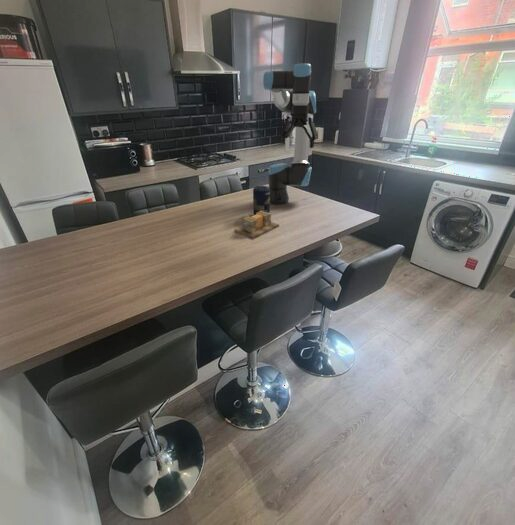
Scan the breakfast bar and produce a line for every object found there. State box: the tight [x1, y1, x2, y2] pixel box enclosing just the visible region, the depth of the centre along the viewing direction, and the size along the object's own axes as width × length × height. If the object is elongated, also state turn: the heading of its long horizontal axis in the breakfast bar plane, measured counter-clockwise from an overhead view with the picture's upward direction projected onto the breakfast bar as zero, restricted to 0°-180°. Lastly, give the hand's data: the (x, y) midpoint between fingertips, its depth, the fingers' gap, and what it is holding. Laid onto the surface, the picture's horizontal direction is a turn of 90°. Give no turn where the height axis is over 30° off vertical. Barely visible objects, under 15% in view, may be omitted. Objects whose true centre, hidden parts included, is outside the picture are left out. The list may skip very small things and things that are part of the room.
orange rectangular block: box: [250, 214, 263, 228], centre depth 154 cm, size 5×4×6 cm
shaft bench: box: [234, 211, 280, 240], centre depth 154 cm, size 20×14×7 cm
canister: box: [252, 185, 271, 216], centre depth 167 cm, size 10×10×18 cm
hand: (297, 153), depth 144 cm, fingers open, 13 cm apart
